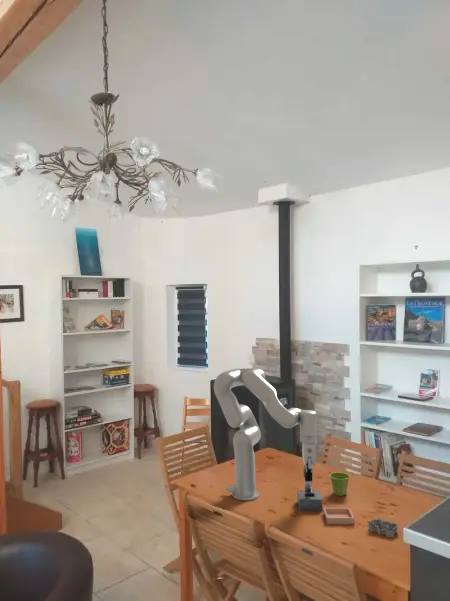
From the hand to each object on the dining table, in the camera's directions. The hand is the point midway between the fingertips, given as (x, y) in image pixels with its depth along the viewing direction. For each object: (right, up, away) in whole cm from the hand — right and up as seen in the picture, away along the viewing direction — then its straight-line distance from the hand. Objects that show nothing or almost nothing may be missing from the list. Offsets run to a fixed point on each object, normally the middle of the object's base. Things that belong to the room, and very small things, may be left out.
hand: (308, 478), depth 223 cm
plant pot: (+18, -12, +14) cm, 25 cm away
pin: (0, -6, 0) cm, 6 cm away
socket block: (+1, -12, 0) cm, 12 cm away
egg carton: (+26, -12, -26) cm, 38 cm away
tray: (+11, -12, -14) cm, 21 cm away
